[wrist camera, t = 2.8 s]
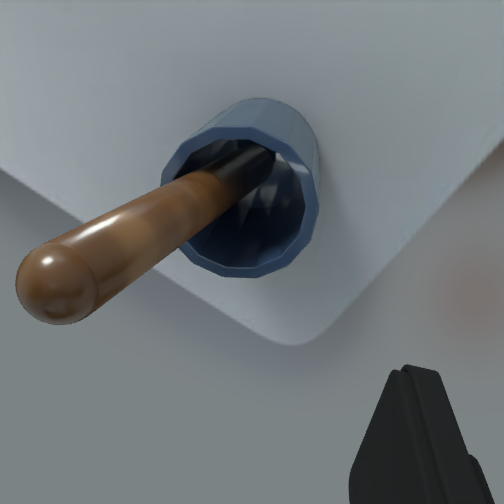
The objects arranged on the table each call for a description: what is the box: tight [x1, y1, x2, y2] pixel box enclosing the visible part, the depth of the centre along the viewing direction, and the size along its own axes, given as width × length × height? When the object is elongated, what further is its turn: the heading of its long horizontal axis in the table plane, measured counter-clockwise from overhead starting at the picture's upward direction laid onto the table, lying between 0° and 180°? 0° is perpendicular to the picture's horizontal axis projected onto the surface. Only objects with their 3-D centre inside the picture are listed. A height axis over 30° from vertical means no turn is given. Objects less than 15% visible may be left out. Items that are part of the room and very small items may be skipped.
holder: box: [160, 98, 320, 278], centre depth 22 cm, size 6×6×8 cm
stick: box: [15, 144, 273, 325], centre depth 18 cm, size 2×2×16 cm
